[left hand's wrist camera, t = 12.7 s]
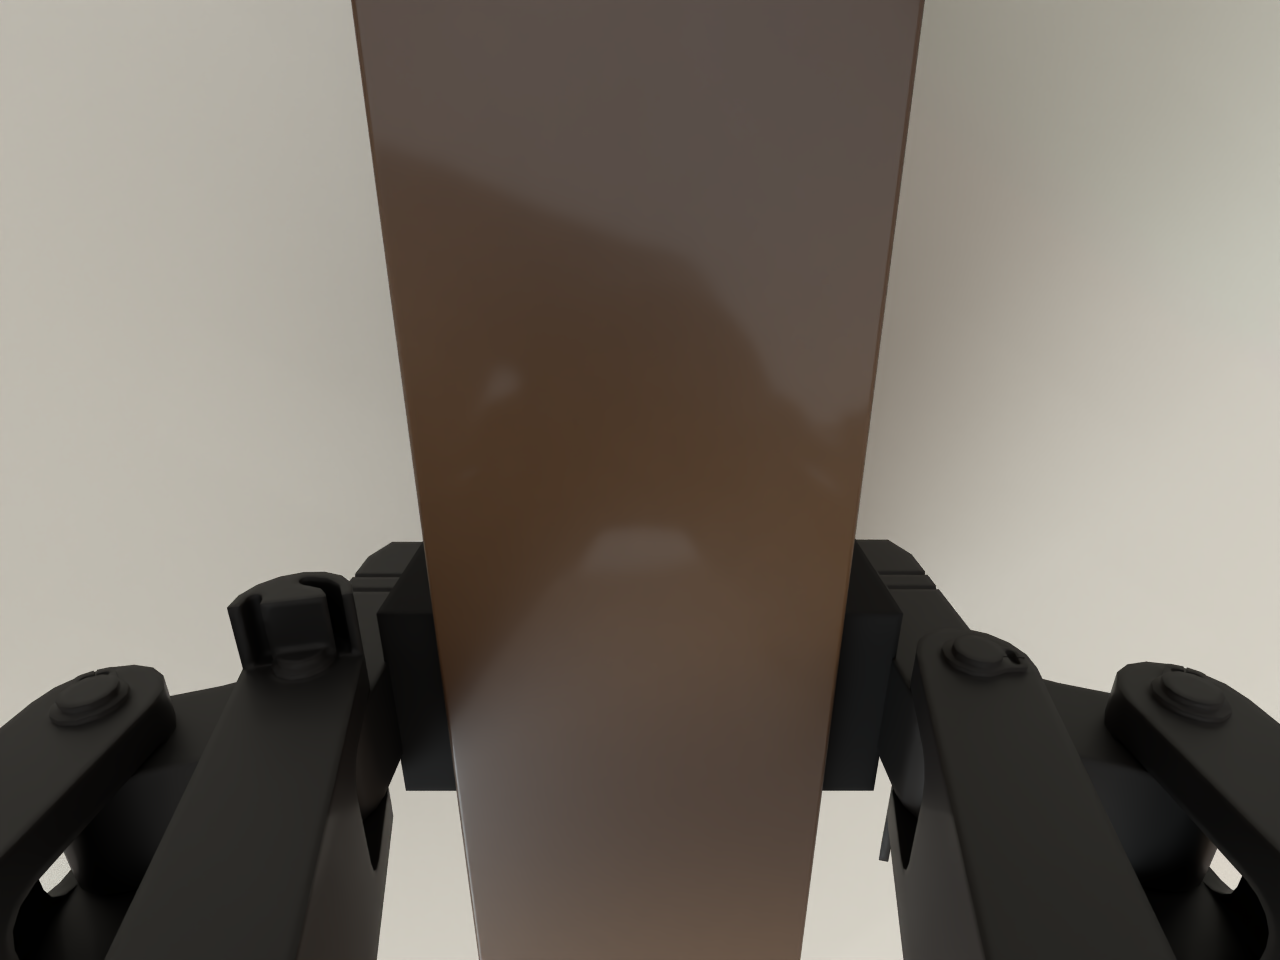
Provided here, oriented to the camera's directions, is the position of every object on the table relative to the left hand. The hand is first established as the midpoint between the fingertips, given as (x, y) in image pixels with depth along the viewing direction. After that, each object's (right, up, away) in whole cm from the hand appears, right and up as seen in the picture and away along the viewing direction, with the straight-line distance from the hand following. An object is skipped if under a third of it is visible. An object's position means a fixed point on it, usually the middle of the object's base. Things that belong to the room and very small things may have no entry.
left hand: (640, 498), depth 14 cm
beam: (0, +17, -6) cm, 19 cm away
